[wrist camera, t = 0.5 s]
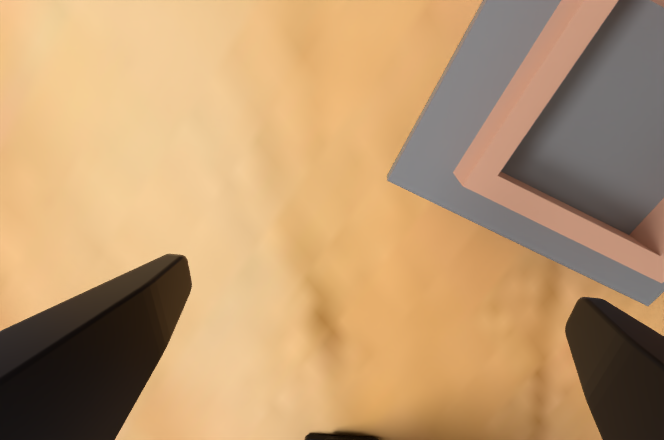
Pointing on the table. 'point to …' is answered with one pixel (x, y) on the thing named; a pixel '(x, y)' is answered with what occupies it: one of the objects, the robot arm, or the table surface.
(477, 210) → the awning stand
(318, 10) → the table surface
